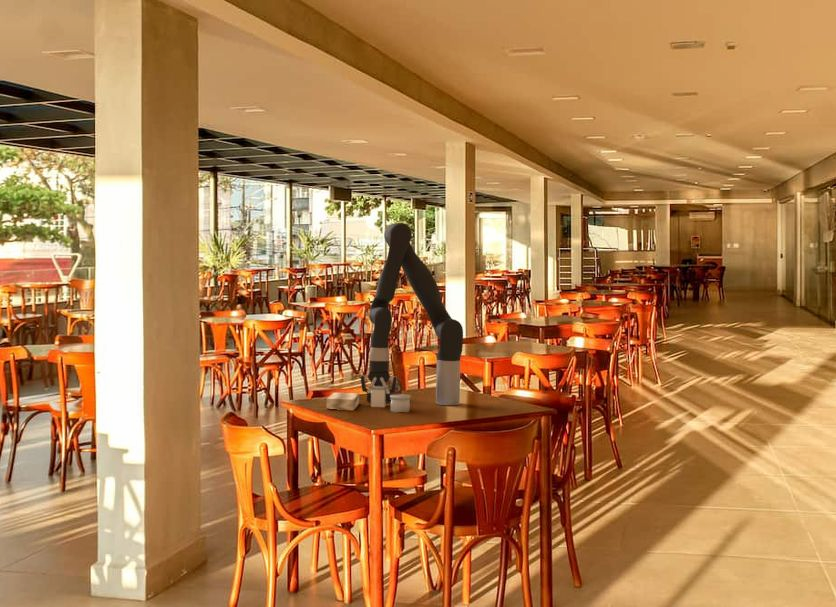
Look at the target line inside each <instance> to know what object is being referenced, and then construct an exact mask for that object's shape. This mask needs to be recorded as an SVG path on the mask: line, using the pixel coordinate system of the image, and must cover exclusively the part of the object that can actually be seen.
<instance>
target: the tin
mask: <svg viewBox="0 0 836 607" xmlns="http://www.w3.org/2000/svg"><path fill="white" fill-rule="evenodd" d="M392 384H393V382H391V379H389V380H388V381H387V385H388V387H389V389H392ZM376 387H384V386H379V385H378V386H376ZM402 391H403V390H402V383H401V381H400V379H398V378H397V381H396V387H395V391H394V392H393V393H390V395H392V394H402ZM386 394H387V393H386ZM390 400H391V398H390Z"/></svg>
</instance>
